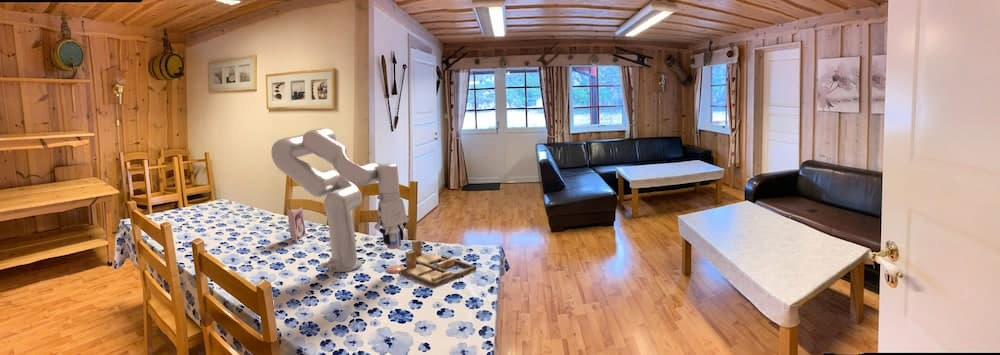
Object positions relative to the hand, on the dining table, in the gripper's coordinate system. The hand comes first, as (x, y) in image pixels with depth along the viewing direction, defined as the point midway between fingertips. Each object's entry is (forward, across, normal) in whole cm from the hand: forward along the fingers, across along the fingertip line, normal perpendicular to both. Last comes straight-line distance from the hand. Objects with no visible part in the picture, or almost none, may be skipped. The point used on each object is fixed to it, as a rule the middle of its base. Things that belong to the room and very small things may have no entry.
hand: (393, 241), depth 190 cm
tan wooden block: (+12, +4, -8) cm, 15 cm away
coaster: (+12, 0, 0) cm, 12 cm away
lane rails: (+12, +9, -14) cm, 21 cm away
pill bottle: (+3, 0, 0) cm, 3 cm away
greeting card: (+11, -8, +72) cm, 74 cm away
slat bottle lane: (+12, +14, -4) cm, 19 cm away
